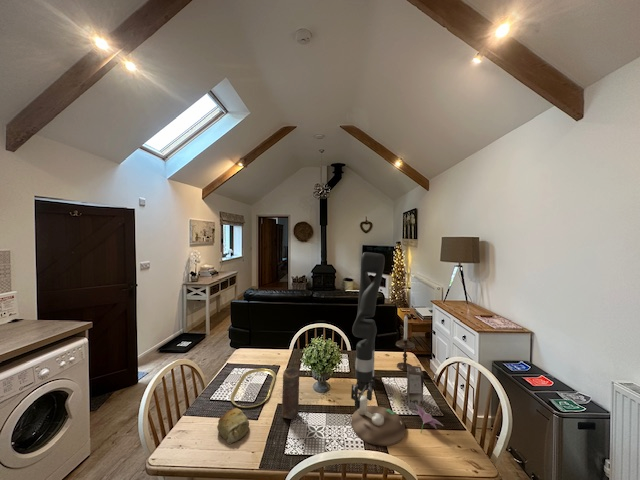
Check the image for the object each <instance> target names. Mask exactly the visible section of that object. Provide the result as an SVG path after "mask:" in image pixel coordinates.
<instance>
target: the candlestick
mask: <svg viewBox="0 0 640 480" xmlns="http://www.w3.org/2000/svg"><path fill="white" fill-rule="evenodd" d="M407 312H408V310H407V309H406V311H405V315H404V318H403V319H404V320H403V321H404V322H403V338H401V340H397V341H396V342H395V346H396V347H398V348H399V349H402V350H403V354H402V357H403V358H402V360H403V362H398V363H397V364H396V368H397V369H398V370H399V371H402V372H407V369H408V366H413V365H412V364H411V363H408V362H407V361H408V354H407V350H413V349H415V348H416V345H415V343H414V342H412V341H410V340H409V339H408V325H409V324H408V323H409V321H408V316H407Z"/></svg>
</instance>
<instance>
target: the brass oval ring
mask: <svg viewBox="0 0 640 480" xmlns="http://www.w3.org/2000/svg"><path fill="white" fill-rule="evenodd" d="M255 373H267V374H269V375H270V376H272V380H271V382H270V386H269V389H268V392H267V395H266V398H265V399H264V400H263V401H261V402H260V403H257V404H254V405H250V406H249V405H248V406H246V405H245V406H243V405H238V404H237V403H236V401H235V397H236V395H237V393H238V391H239V390H240V388H239V387H241V385H242V384H241V383H243V382H244V380H245V378H246V377H247V376H249V375H251V374H255ZM276 377H277V376H276V373H275V372H274V371H273V370H271V369H268V368H254V369H251V370H247V371H246V372H245V373H243V374H242V375H241V377H240V378H239V381H238V382H237V384H236V386H235V388H234V389H233V391H232V393H231V395H230V401H231V403H232V404H233V405H234V406H235V407H237V408H238V407H239V408H242V409H252V408H256V407H259V406H261V405H263V404H264V403H265V402H266V401H268V399H269V397H270V396H271V393H272V389H273V387H274V383H275V380H276ZM238 389H239V390H238Z"/></svg>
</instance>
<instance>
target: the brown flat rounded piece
mask: <svg viewBox="0 0 640 480" xmlns="http://www.w3.org/2000/svg"><path fill="white" fill-rule="evenodd" d="M367 411H368V412H369V413H371V414H374V413H379V414H381V415H383V417H384V424H383V425H381V426H377V425H374V424H373V423H372V419H371V418H369V417H367V416H366V415H360V414H359V413H358V409H357V410H355V411H354V412H353V414H352V416H351V418H350V419H351V420H350V421H351V423H350V424H351V425H352V426H351V428H353V429H352V431H353V430H354V431H353V432H355V433H356V434H355V433H354V434H355V435H356V436H357V438H359V437H360V438H359V439H361V440H362V441H363V442H365V443H367V444H371V445H374V446H377V447H378V446H379V447H389V446H393V445H396V444H398V443H400V442H401V441H402V440H403V438H404V437H405V432H406V424H405V422H404V421H403V418H401V417H400V415H398V413H396V412H395V411H393V410H391V409H390V408H387V407H383V406H378V405H367Z"/></svg>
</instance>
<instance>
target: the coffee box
mask: <svg viewBox="0 0 640 480" xmlns="http://www.w3.org/2000/svg"><path fill="white" fill-rule="evenodd" d="M406 372H407V373H406V374H407V377H406V379H407V380H406V400H407V404H408V405H409V406H408V408H409V409H414V408H415V409H414V410H416V409H417V410H418V408H417V407H416V405H418V406H419V407H420V408H422V409H423V408H424V406H423V405H424V377H425V375H424V372H423V369H422V367H421V366H420V365H419V366H418V365H412V366H408V369H407V371H406ZM415 404H416V405H415ZM423 410H424V409H423Z"/></svg>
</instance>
